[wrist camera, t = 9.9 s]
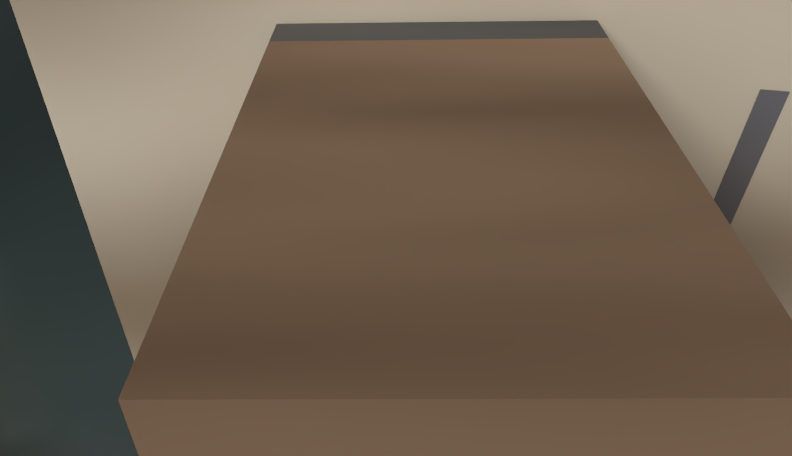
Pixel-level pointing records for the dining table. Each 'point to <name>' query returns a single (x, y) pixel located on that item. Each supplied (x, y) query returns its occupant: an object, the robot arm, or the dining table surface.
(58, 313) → the dining table surface
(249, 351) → the block
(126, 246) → the board
